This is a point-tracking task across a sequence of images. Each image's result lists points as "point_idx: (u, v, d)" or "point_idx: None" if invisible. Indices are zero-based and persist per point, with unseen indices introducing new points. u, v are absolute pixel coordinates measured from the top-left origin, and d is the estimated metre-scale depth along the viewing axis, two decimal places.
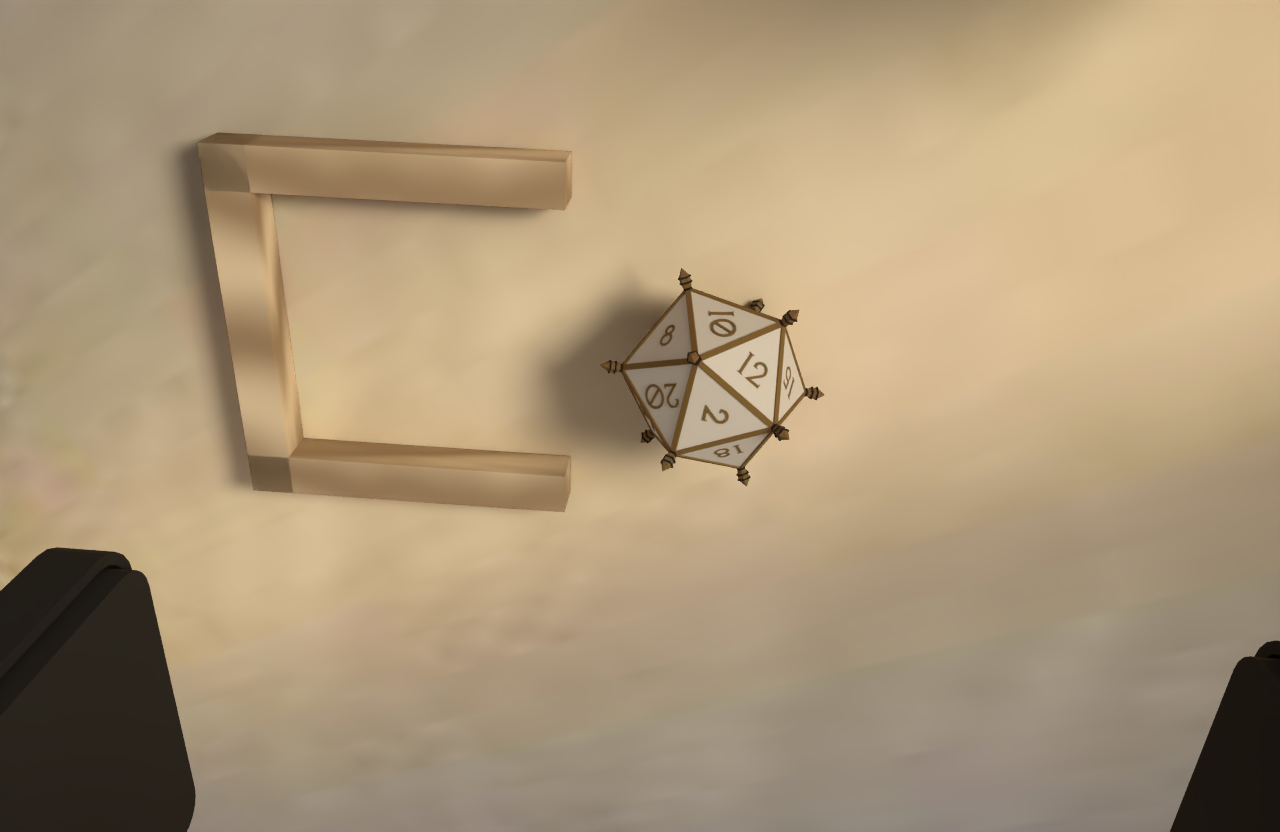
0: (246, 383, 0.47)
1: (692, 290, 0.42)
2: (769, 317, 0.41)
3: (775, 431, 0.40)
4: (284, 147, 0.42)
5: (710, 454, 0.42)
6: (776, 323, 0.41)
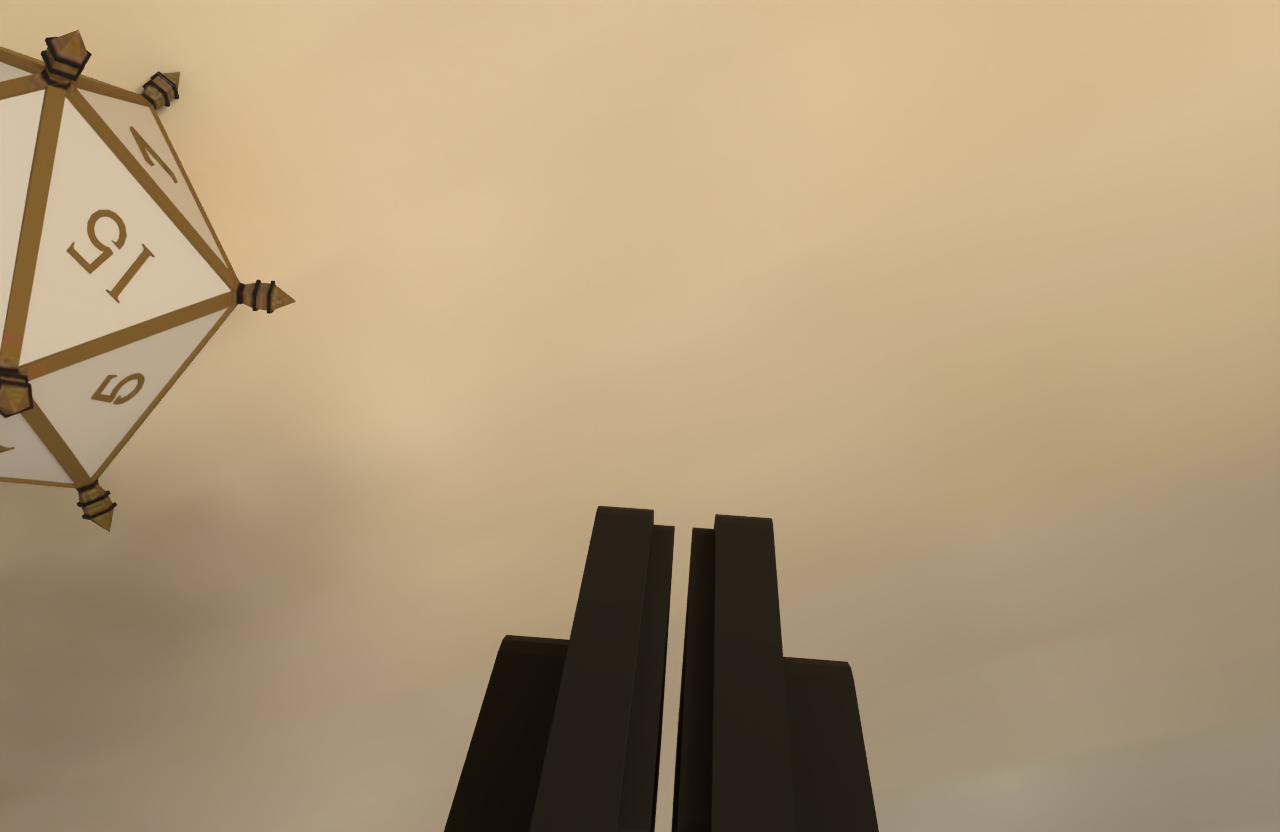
0: None
1: None
2: (22, 63, 0.14)
3: None
4: None
5: None
6: (30, 76, 0.14)
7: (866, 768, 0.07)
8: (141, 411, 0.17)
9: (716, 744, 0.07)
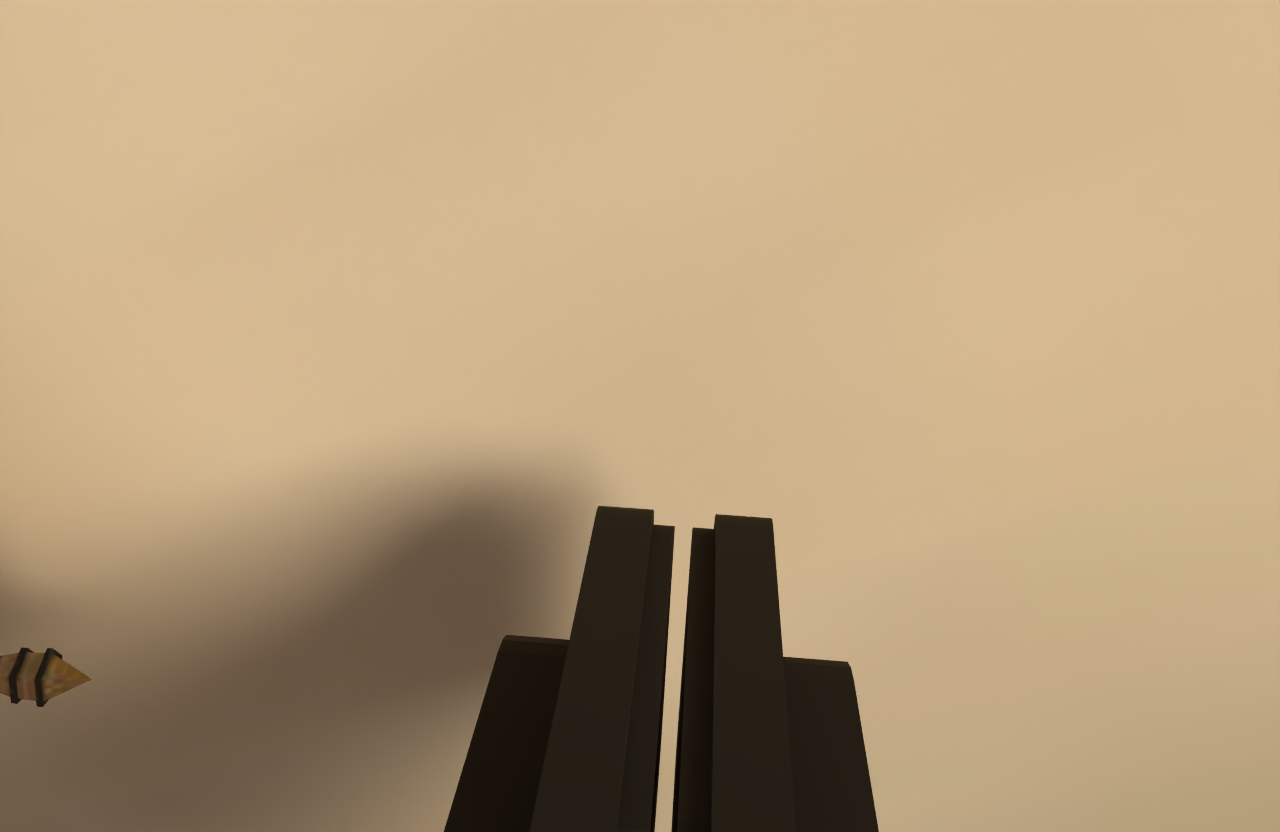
0: None
1: None
2: None
3: None
4: None
5: None
6: None
7: (866, 768, 0.07)
8: None
9: (716, 744, 0.07)
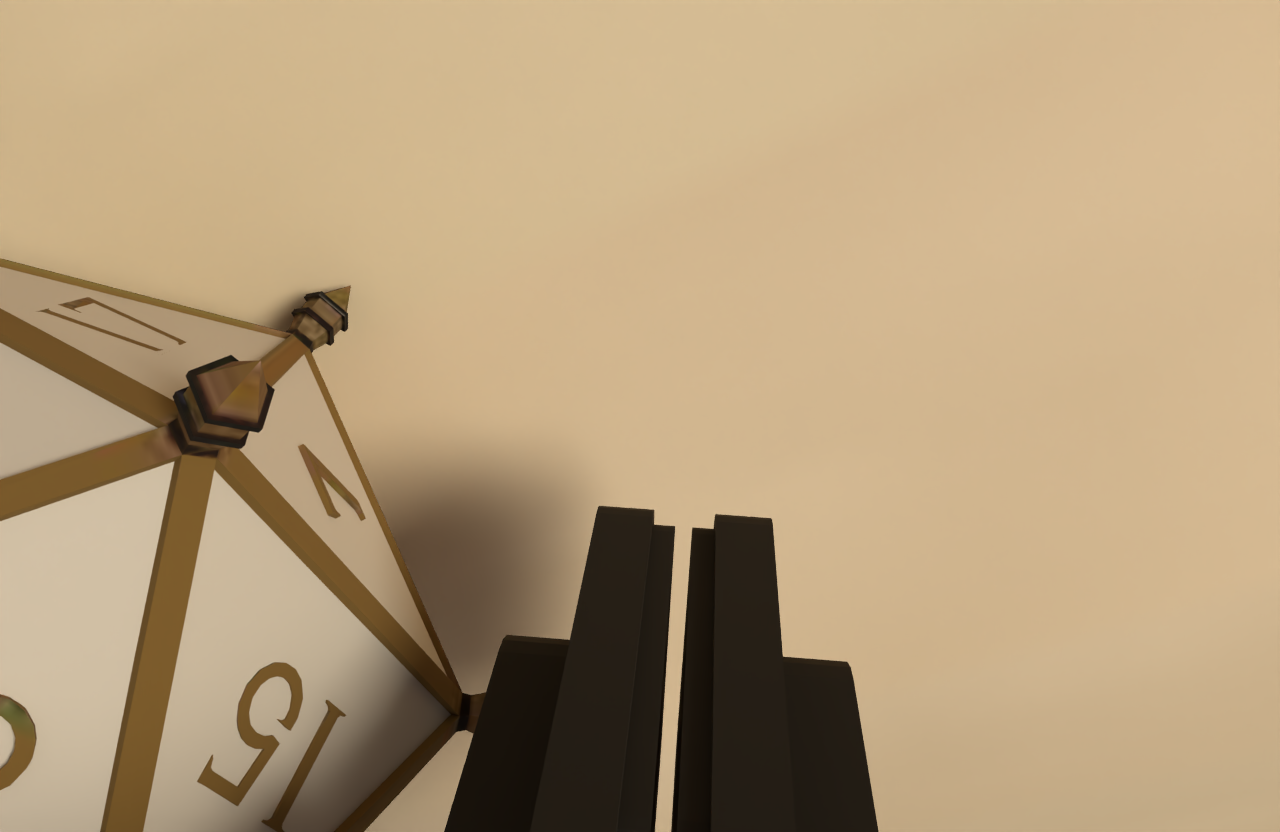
0: None
1: None
2: (127, 394, 0.07)
3: None
4: None
5: None
6: (146, 436, 0.07)
7: (866, 768, 0.07)
8: None
9: (716, 744, 0.07)
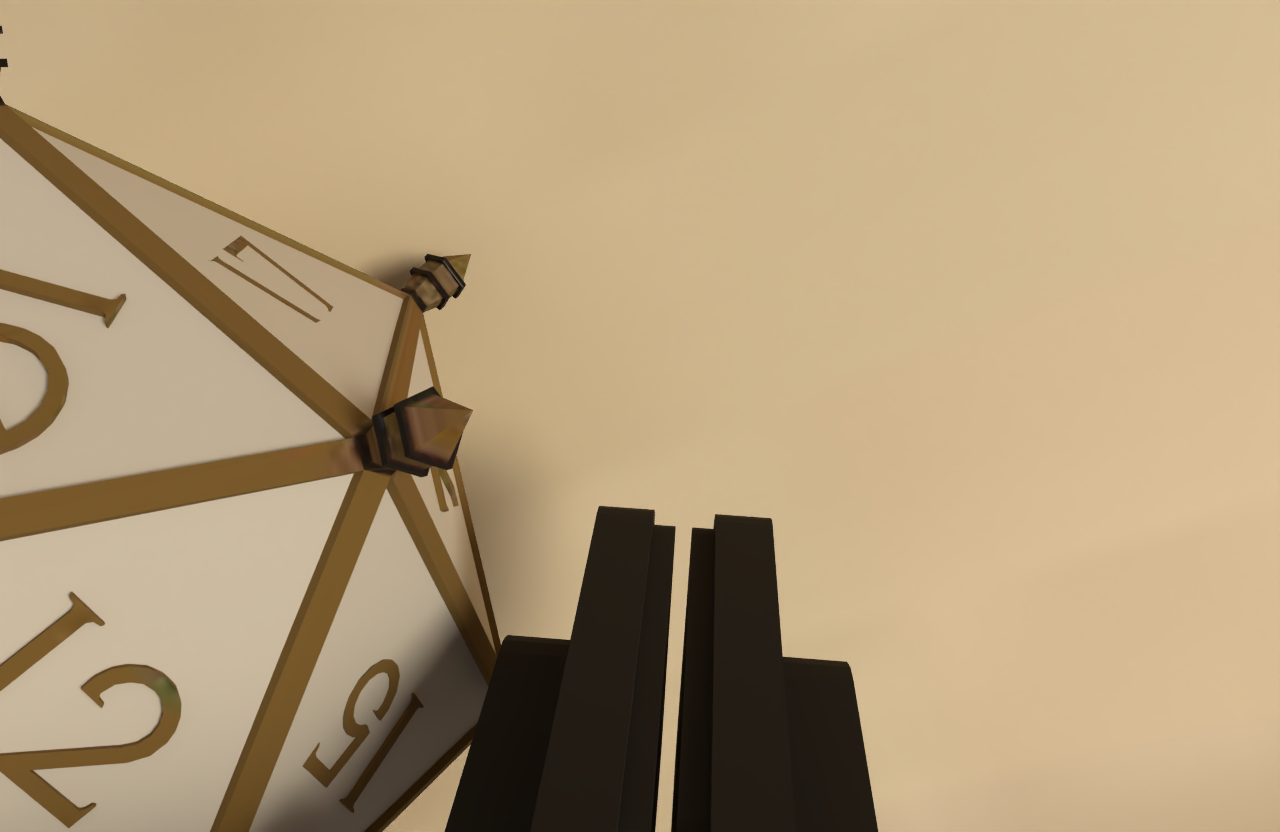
0: None
1: None
2: (315, 393, 0.07)
3: None
4: None
5: None
6: (333, 444, 0.07)
7: (865, 768, 0.07)
8: None
9: (715, 744, 0.07)
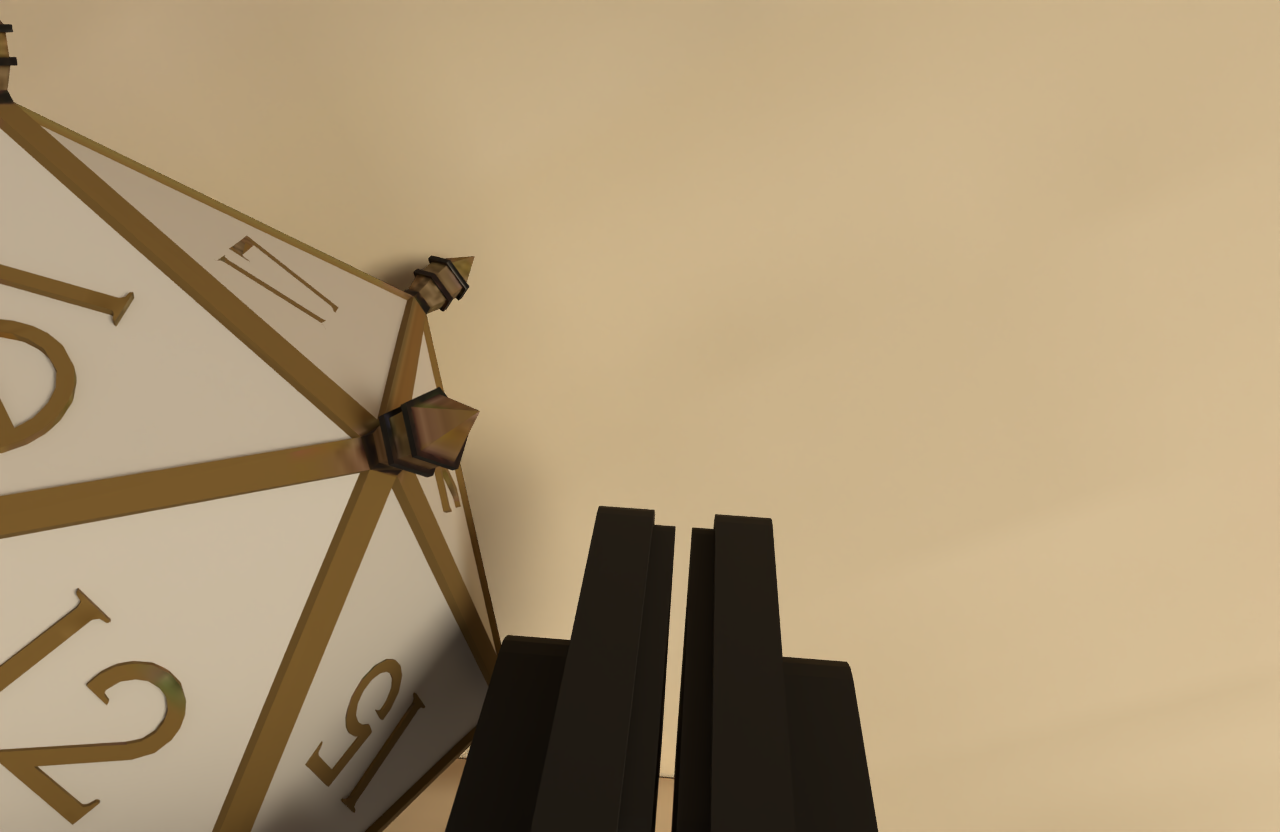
0: None
1: None
2: (321, 392, 0.07)
3: None
4: None
5: None
6: (339, 444, 0.07)
7: (865, 768, 0.07)
8: None
9: (715, 744, 0.07)
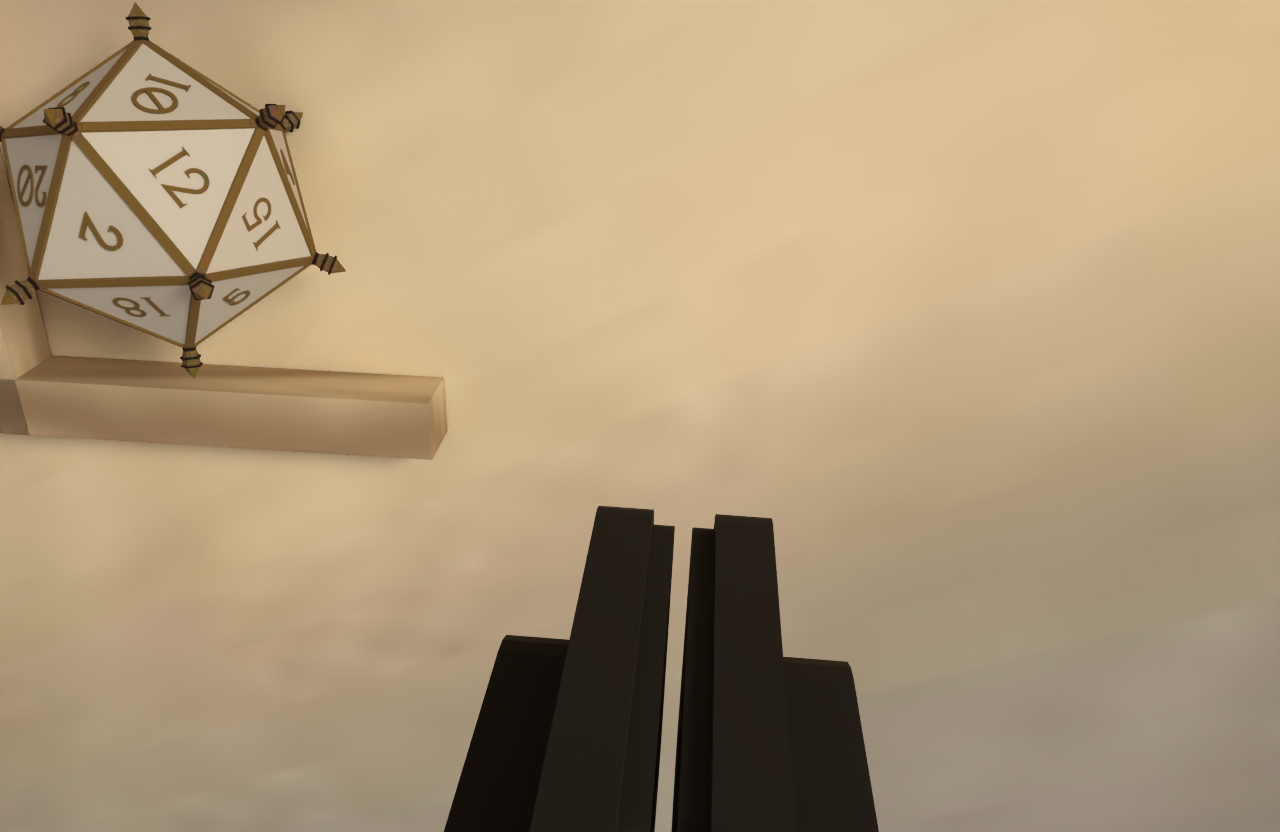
0: None
1: (145, 42, 0.26)
2: (244, 109, 0.26)
3: (191, 283, 0.25)
4: None
5: (108, 304, 0.26)
6: (249, 120, 0.25)
7: (866, 768, 0.07)
8: (237, 312, 0.28)
9: (716, 744, 0.07)
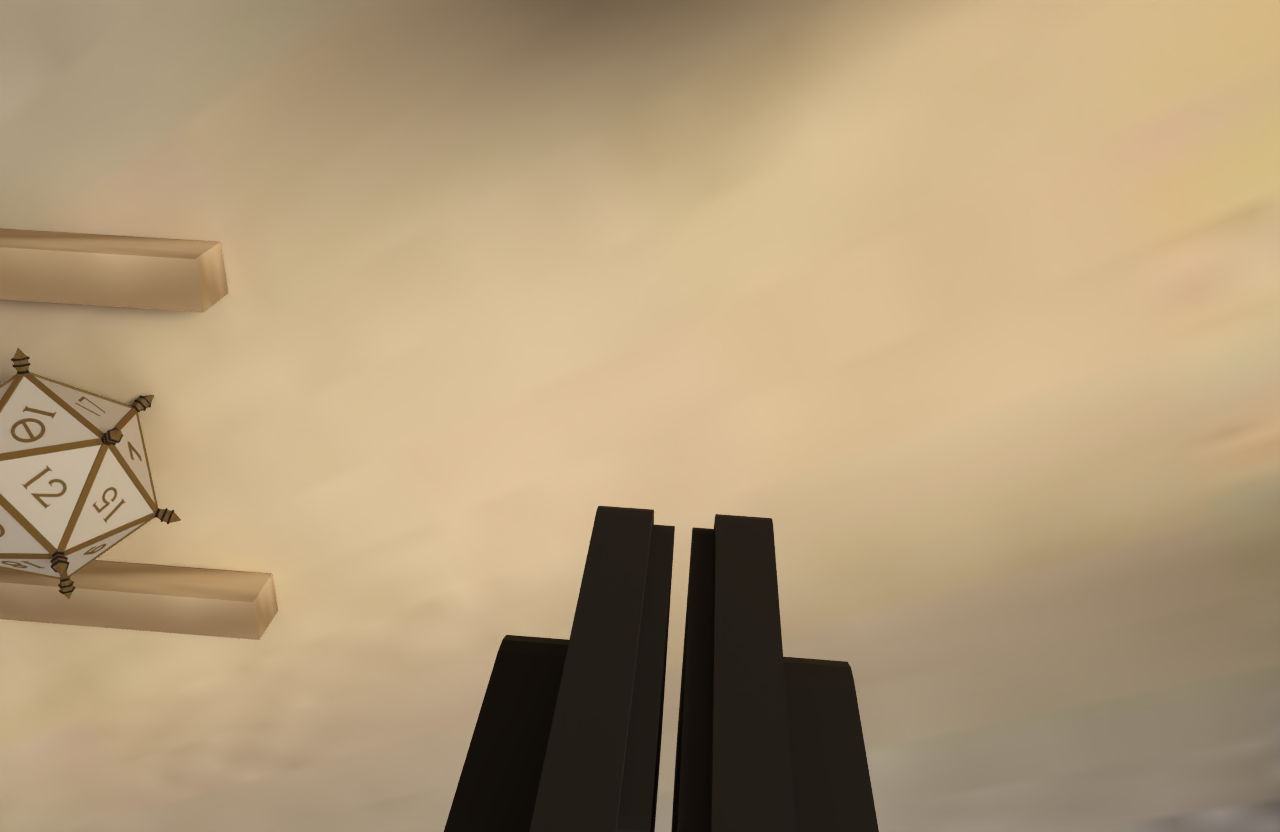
0: None
1: (26, 375, 0.37)
2: (94, 429, 0.36)
3: (52, 561, 0.35)
4: None
5: None
6: (96, 439, 0.36)
7: (866, 768, 0.07)
8: (99, 553, 0.39)
9: (716, 744, 0.07)
